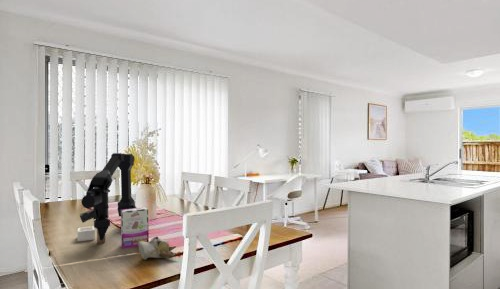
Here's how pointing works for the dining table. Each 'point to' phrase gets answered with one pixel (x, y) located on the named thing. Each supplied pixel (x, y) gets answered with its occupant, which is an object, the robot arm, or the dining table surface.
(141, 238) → the candy bar box
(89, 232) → the white square frame
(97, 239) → the dowel
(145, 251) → the ceramic sculpture
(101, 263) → the dining table surface
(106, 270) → the dining table surface
